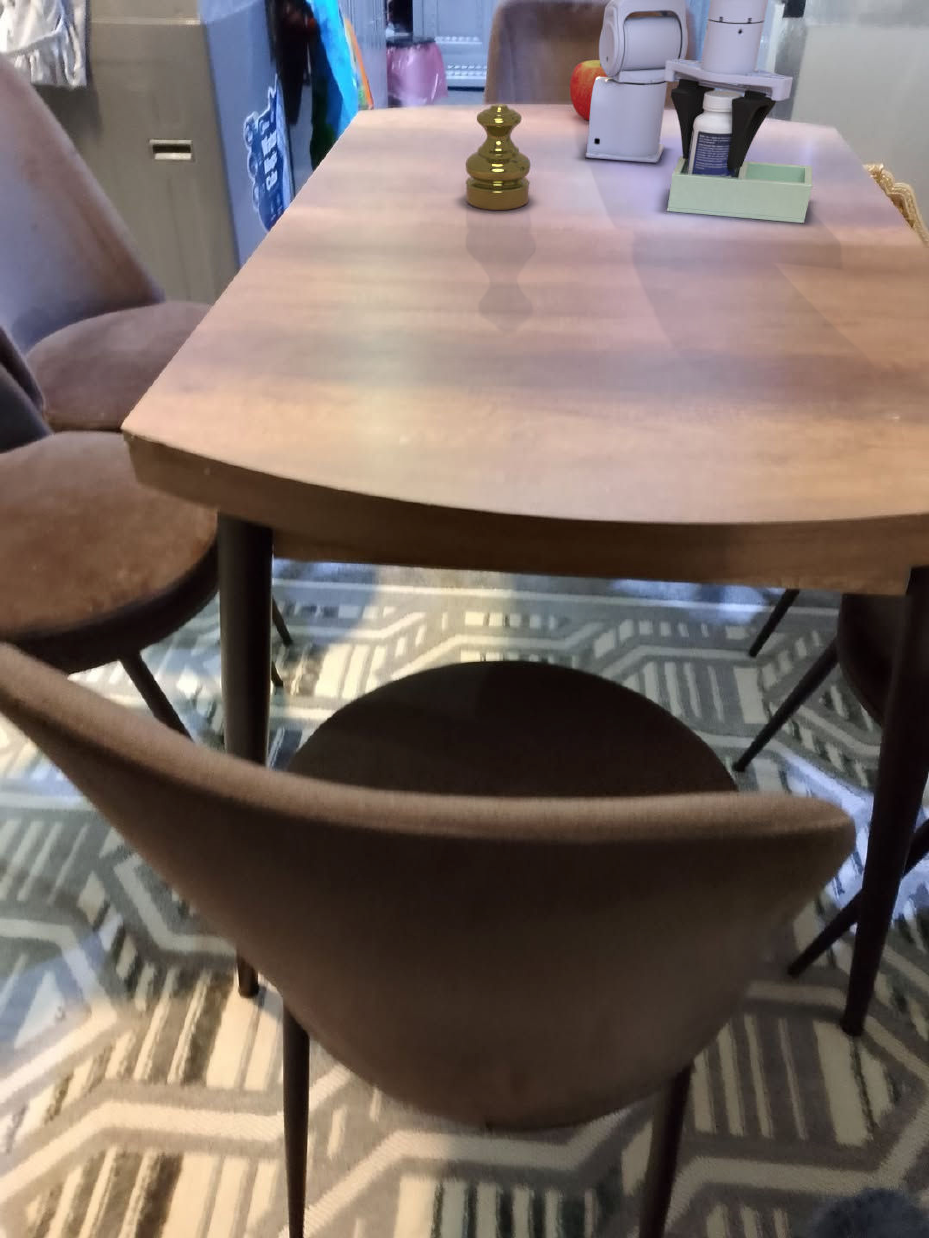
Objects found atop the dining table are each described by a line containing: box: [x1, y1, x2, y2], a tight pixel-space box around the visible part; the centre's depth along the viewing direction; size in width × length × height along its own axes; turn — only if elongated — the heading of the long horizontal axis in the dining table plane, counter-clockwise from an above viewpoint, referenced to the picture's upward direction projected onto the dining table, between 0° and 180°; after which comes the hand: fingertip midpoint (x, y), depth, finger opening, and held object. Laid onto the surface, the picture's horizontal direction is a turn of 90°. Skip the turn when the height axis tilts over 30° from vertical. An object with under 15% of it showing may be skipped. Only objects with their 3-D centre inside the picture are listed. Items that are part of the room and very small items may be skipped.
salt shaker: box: [465, 103, 531, 211], centre depth 103 cm, size 7×7×10 cm
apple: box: [569, 59, 608, 121], centre depth 133 cm, size 8×8×10 cm
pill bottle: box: [686, 90, 743, 177], centre depth 101 cm, size 5×5×10 cm
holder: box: [666, 155, 813, 224], centre depth 104 cm, size 8×15×4 cm, turn 74°
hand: (712, 162), depth 103 cm, fingers closed on pill bottle, 5 cm apart
